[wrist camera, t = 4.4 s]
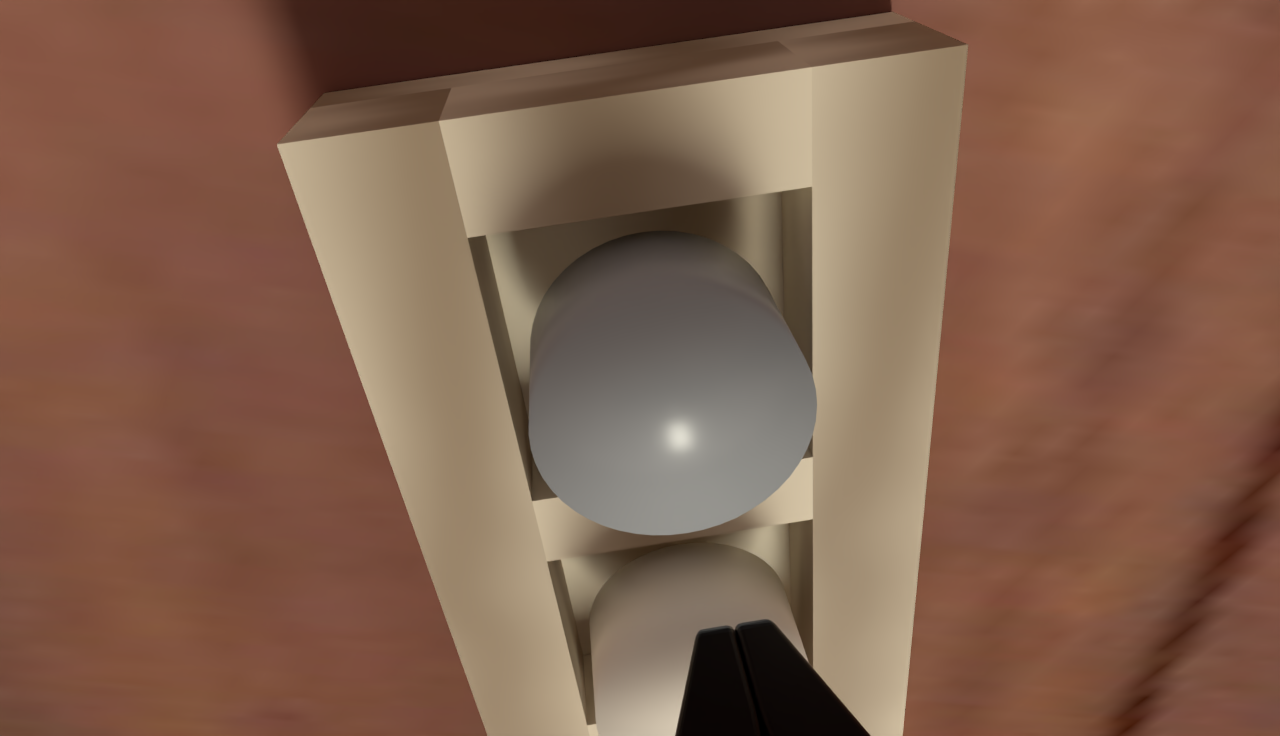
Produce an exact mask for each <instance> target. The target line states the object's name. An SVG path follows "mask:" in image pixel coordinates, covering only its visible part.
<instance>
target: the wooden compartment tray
mask: <svg viewBox="0 0 1280 736" xmlns="http://www.w3.org/2000/svg"><path fill="white" fill-rule="evenodd" d="M967 52H968V44H966V43H963V42H961V41H959V40H956V39H954V38H952V37H950V36H947V35H945V34H943V33H940V32H938V31H936V30H933V29H931V28H929V27H927V26H924V25H922V24H920V23H917V22H915V21H913V20H910V19H908V18H906V17H904V16H901V15H899V14H897V13H894V12H888V13H881V14H874V15H867V16H860V17H853V18H846V19H839V20H832V21H825V22H818V23H811V24H804V25H797V26H790V27H783V28H776V29H769V30H762V31H755V32H748V33H741V34H734V35H727V36H720V37H713V38H706V39H699V40H692V41H685V42H678V43H671V44H664V45H657V46H650V47H643V48H636V49H629V50H622V51H615V52H608V53H601V54H594V55H587V56H580V57H573V58H566V59H559V60H552V61H545V62H538V63H531V64H524V65H517V66H510V67H503V68H496V69H489V70H482V71H475V72H468V73H461V74H454V75H447V76H440V77H433V78H426V79H419V80H412V81H405V82H398V83H391V84H384V85H377V86H370V87H363V88H356V89H349V90H342V91H335V92H328V93H324V94H323V95H322V96H321V97H320V98H319V99H318V100H317V101H316V102H315V103H314V105H313V106H312V107H311V108H310V109H309V110H308V111H307V112H306V113H305V114H304V115H303V117H302V118H301V119H300V120H299V121H298V122H297V123H296V124H295V125H294V126H293V127H292V128H291V130H290V131H289V132H288V133H287V134H286V135H285V136H284V137H283V138H282V139H281V140H280V142H279V143H278V144H277V146H278V149H279V152H280V155H281V157H282V160H283V163H284V166H285V169H286V171H287V174H288V177H289V180H290V183H291V185H292V188H293V191H294V194H295V197H296V199H297V202H298V205H299V208H300V211H301V213H302V216H303V219H304V222H305V225H306V228H307V230H308V233H309V236H310V239H311V242H312V244H313V247H314V250H315V253H316V256H317V258H318V261H319V264H320V267H321V270H322V272H323V275H324V278H325V281H326V284H327V286H328V289H329V292H330V295H331V298H332V300H333V303H334V306H335V309H336V312H337V314H338V317H339V320H340V323H341V326H342V328H343V331H344V334H345V337H346V340H347V343H348V345H349V348H350V351H351V354H352V357H353V359H354V362H355V365H356V368H357V371H358V373H359V376H360V379H361V382H362V385H363V387H364V390H365V393H366V396H367V399H368V401H369V404H370V407H371V410H372V413H373V415H374V418H375V421H376V424H377V427H378V429H379V432H380V435H381V438H382V441H383V444H384V446H385V449H386V452H387V455H388V458H389V460H390V463H391V466H392V469H393V472H394V474H395V477H396V480H397V483H398V486H399V488H400V491H401V494H402V497H403V500H404V502H405V505H406V508H407V511H408V514H409V516H410V519H411V522H412V525H413V528H414V530H415V533H416V536H417V539H418V542H419V544H420V547H421V550H422V553H423V556H424V559H425V561H426V564H427V567H428V570H429V573H430V575H431V578H432V581H433V584H434V587H435V589H436V592H437V595H438V598H439V601H440V603H441V606H442V609H443V612H444V615H445V617H446V620H447V623H448V626H449V629H450V631H451V634H452V637H453V640H454V643H455V645H456V648H457V651H458V654H459V657H460V660H461V662H462V665H463V668H464V671H465V674H466V676H467V679H468V682H469V685H470V688H471V690H472V693H473V696H474V699H475V702H476V704H477V707H478V710H479V713H480V716H481V718H482V721H483V724H484V727H485V730H486V732H487V735H488V736H599V734H598V731H597V726H596V717H595V701H594V686H593V671H592V655H591V640H590V625H589V621H590V612H591V608H592V604H593V602H594V600H595V598H596V596H597V594H598V592H599V591H600V589H601V588H602V586H603V585H604V584H605V583H606V582H607V581H608V579H609V578H610V577H611V576H613V575H614V574H615V573H616V572H617V571H618V570H619V569H621V568H622V567H624V566H625V565H627V564H628V563H630V562H631V561H633V560H635V559H637V558H639V557H641V556H643V555H645V554H648V553H650V552H652V551H655V550H659V549H662V548H665V547H669V546H674V545H679V544H687V543H718V544H724V545H729V546H734V547H737V548H740V549H743V550H746V551H748V552H750V553H752V554H754V555H756V556H758V557H759V558H761V559H762V560H764V561H765V562H766V563H767V564H768V565H770V566H771V567H772V568H773V570H774V571H775V572H776V573H777V575H778V576H779V578H780V580H781V582H782V584H783V587H784V590H785V593H786V596H787V599H788V602H789V605H790V608H791V611H792V614H793V617H794V620H795V623H796V626H797V629H798V632H799V635H800V638H801V641H802V644H803V647H804V650H805V653H806V656H807V659H808V662H809V664H810V665H811V666H812V667H813V668H814V670H815V671H816V672H817V673H818V674H819V675H820V677H821V678H822V679H823V680H824V681H825V683H826V684H827V685H828V686H829V687H830V688H831V690H832V691H833V692H834V693H835V694H836V695H837V697H838V698H839V699H840V700H841V701H842V702H843V704H844V705H845V706H846V707H847V708H848V710H849V711H850V712H851V713H852V714H853V715H854V717H855V718H856V719H857V720H858V721H859V722H860V724H861V725H862V726H863V727H864V728H865V729H866V731H867V732H868V733H869V734H870V735H871V736H903V726H904V715H905V705H906V694H907V684H908V673H909V663H910V652H911V642H912V631H913V620H914V610H915V599H916V589H917V578H918V568H919V557H920V547H921V536H922V526H923V515H924V505H925V494H926V484H927V473H928V463H929V452H930V441H931V431H932V420H933V410H934V399H935V389H936V378H937V368H938V357H939V347H940V336H941V326H942V315H943V305H944V294H945V284H946V273H947V262H948V252H949V241H950V231H951V220H952V210H953V199H954V189H955V178H956V168H957V157H958V147H959V136H960V126H961V115H962V105H963V94H964V84H965V73H966V62H967ZM649 231H678V232H684V233H691V234H695V235H699V236H702V237H705V238H709V239H711V240H713V241H716V242H718V243H720V244H722V245H724V246H726V247H728V248H729V249H731V250H732V251H734V252H736V253H737V254H739V255H740V256H741V257H742V258H743V259H744V260H746V261H747V262H748V263H749V264H750V265H751V266H752V267H753V268H754V269H755V271H756V272H757V273H758V274H759V275H760V277H761V278H762V280H763V281H764V283H765V285H766V286H767V288H768V290H769V291H770V293H771V295H772V297H773V299H774V301H775V303H776V305H777V306H778V308H779V310H780V312H781V314H782V316H783V318H784V320H785V322H786V323H787V325H788V327H789V329H790V331H791V333H792V335H793V337H794V338H795V340H796V342H797V344H798V346H799V348H800V350H801V352H802V354H803V355H804V357H805V359H806V361H807V364H808V366H809V368H810V371H811V373H812V376H813V380H814V384H815V388H816V396H817V414H816V422H815V427H814V431H813V435H812V438H811V440H810V443H809V446H808V448H807V450H806V452H805V454H804V456H803V458H802V459H801V461H800V463H799V465H798V466H797V467H796V469H795V470H794V471H793V473H792V474H791V476H790V477H789V478H788V479H787V480H786V481H785V482H784V483H783V484H782V485H781V487H780V488H779V489H778V490H776V491H775V492H774V493H773V494H772V495H771V496H769V497H768V498H767V499H766V500H765V501H763V502H762V503H760V504H759V505H757V506H756V507H754V508H753V509H751V510H750V511H748V512H746V513H744V514H742V515H740V516H739V517H737V518H735V519H732V520H730V521H727V522H725V523H723V524H720V525H717V526H714V527H711V528H707V529H704V530H700V531H695V532H690V533H684V534H675V535H644V534H634V533H629V532H624V531H619V530H616V529H612V528H609V527H606V526H603V525H601V524H598V523H596V522H594V521H591V520H589V519H587V518H586V517H584V516H582V515H581V514H579V513H577V512H575V511H574V510H573V509H571V508H570V507H569V506H568V505H566V504H565V503H564V502H562V501H561V500H560V498H559V497H558V496H557V495H556V494H555V493H554V492H553V491H552V490H551V489H550V487H549V486H548V485H547V483H546V482H545V481H544V479H543V478H542V476H541V474H540V472H539V470H538V468H537V466H536V464H535V461H534V458H533V455H532V451H531V447H530V440H529V383H530V337H531V331H532V325H533V321H534V318H535V315H536V312H537V309H538V307H539V305H540V303H541V301H542V299H543V297H544V295H545V293H546V292H547V291H548V289H549V288H550V286H551V285H552V283H553V282H554V281H555V280H556V278H557V277H558V276H559V275H560V274H561V273H562V272H563V271H564V270H565V269H566V268H567V267H568V266H569V265H571V264H572V263H573V262H574V261H575V260H576V259H578V258H579V257H581V256H582V255H584V254H585V253H587V252H588V251H590V250H591V249H593V248H595V247H597V246H599V245H602V244H604V243H606V242H608V241H611V240H614V239H616V238H619V237H622V236H626V235H630V234H635V233H640V232H649Z"/></svg>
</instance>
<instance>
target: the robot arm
mask: <svg viewBox="0 0 1280 736" xmlns="http://www.w3.org/2000/svg"><path fill="white" fill-rule="evenodd" d="M675 736H871V735H870V734H869V733H868V732H867V731H866V729H865V728H864V727H863V726H862V725H861V724H860V722H859V721H858V720H857V719H856V718H855V717H854V715H853V714H852V713H851V712H850V711H849V710H848V708H847V707H846V706H845V705H844V704H843V702H842V701H841V700H840V699H839V698H838V697H837V695H836V694H835V693H834V692H833V691H832V690H831V688H830V687H829V686H828V685H827V684H826V683H825V681H824V680H823V679H822V678H821V677H820V675H819V674H818V673H817V672H816V671H815V670H814V668H813V667H812V666H811V665H810V664H809V663H808V661H807V660H806V659H805V658H804V657H803V656H802V654H801V653H800V652H799V651H798V650H797V648H796V647H795V646H794V645H793V644H792V643H791V641H790V640H789V639H788V638H787V637H786V636H785V634H784V633H783V632H782V631H781V630H780V629H779V627H778V626H777V625H776V624H775V623H774V622H773V621H771V620H769V619H762V620H756V621H750V622H743V623H739V624H738V625H737V626H736V627H735V630H734V629H733V628H732V627H731V626H728V625H725V626H719V627H713V628H707V629H702V630H700V631H698V633H697V634H696V637H695V641H694V646H693V651H692V656H691V661H690V665H689V670H688V675H687V680H686V685H685V690H684V695H683V699H682V704H681V709H680V714H679V719H678V724H677V729H676V733H675Z"/></svg>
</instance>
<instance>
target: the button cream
mask: <svg viewBox="0 0 1280 736" xmlns="http://www.w3.org/2000/svg"><path fill="white" fill-rule="evenodd" d="M762 619H769V620H771V621H773V622H774V623H775V624H776V625H777V626H778V627H779V629H780V630H781V631H782V632H783V633H784V634H785V636H786V637H787V638H788V639H789V640H790V641H791V643H792V644H793V645H794V646H795V647H796V648H797V650H798V651H799V652H800V653H801V654H802V656H803V657H804V658H805V659H806V660H807V661H808V659H807V656H806V653H805V650H804V647H803V644H802V641H801V638H800V635H799V632H798V629H797V626H796V623H795V620H794V617H793V614H792V611H791V608H790V605H789V602H788V599H787V596H786V593H785V590H784V587H783V584H782V582H781V580H780V578H779V576H778V575H777V573H776V572H775V571H774V570H773V568H772V567H771V566H770V565H768V564H767V563H766V562H765V561H764V560H762V559H761V558H759V557H758V556H756V555H754V554H752V553H750V552H748V551H746V550H743V549H740V548H737V547H734V546H729V545H724V544H718V543H687V544H679V545H674V546H669V547H665V548H662V549H659V550H655V551H652V552H650V553H648V554H645V555H643V556H641V557H639V558H637V559H635V560H633V561H631V562H630V563H628V564H627V565H625V566H624V567H622V568H621V569H619V570H618V571H617V572H616V573H615V574H614V575H613V576H611V577H610V578H609V579H608V581H607V582H606V583H605V584H604V585H603V586H602V588H601V589H600V591H599V592H598V594H597V596H596V598H595V600H594V602H593V604H592V608H591V612H590V621H589V625H590V640H591V655H592V671H593V686H594V701H595V717H596V726H597V731H598V734H599V736H675V733H676V729H677V724H678V719H679V714H680V709H681V704H682V699H683V695H684V690H685V685H686V680H687V675H688V670H689V665H690V661H691V656H692V651H693V646H694V641H695V637H696V634H697V633H698V631H700V630H702V629H707V628H713V627H719V626H725V625H728V626H731V627H732V628H733V629H734V630H735V627H736V626H737V625H738V624H739V623H743V622H750V621H756V620H762ZM808 663H809V662H808Z"/></svg>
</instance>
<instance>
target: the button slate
mask: <svg viewBox="0 0 1280 736" xmlns="http://www.w3.org/2000/svg"><path fill="white" fill-rule="evenodd" d="M816 414H817V396H816V388H815V384H814V380H813V376H812V373H811V371H810V368H809V366H808V364H807V361H806V359H805V357H804V355H803V354H802V352H801V350H800V348H799V346H798V344H797V342H796V340H795V338H794V337H793V335H792V333H791V331H790V329H789V327H788V325H787V323H786V322H785V320H784V318H783V316H782V314H781V312H780V310H779V308H778V306H777V305H776V303H775V301H774V299H773V297H772V295H771V293H770V291H769V290H768V288H767V286H766V285H765V283H764V281H763V280H762V278H761V277H760V275H759V274H758V273H757V272H756V271H755V269H754V268H753V267H752V266H751V265H750V264H749V263H748V262H747V261H746V260H744V259H743V258H742V257H741V256H740V255H739V254H737V253H736V252H734V251H732V250H731V249H729V248H728V247H726V246H724V245H722V244H720V243H718V242H716V241H713V240H711V239H709V238H705V237H702V236H699V235H695V234H691V233H684V232H678V231H649V232H640V233H635V234H630V235H626V236H622V237H619V238H616V239H614V240H611V241H608V242H606V243H604V244H602V245H599V246H597V247H595V248H593V249H591V250H590V251H588V252H587V253H585V254H584V255H582V256H581V257H579V258H578V259H576V260H575V261H574V262H573V263H572V264H571V265H569V266H568V267H567V268H566V269H565V270H564V271H563V272H562V273H561V274H560V275H559V276H558V277H557V278H556V280H555V281H554V282H553V283H552V285H551V286H550V288H549V289H548V291H547V292H546V293H545V295H544V297H543V299H542V301H541V303H540V305H539V307H538V309H537V312H536V315H535V318H534V321H533V325H532V331H531V337H530V383H529V440H530V447H531V451H532V455H533V458H534V461H535V464H536V466H537V468H538V470H539V472H540V474H541V476H542V478H543V479H544V481H545V482H546V483H547V485H548V486H549V487H550V489H551V490H552V491H553V492H554V493H555V494H556V495H557V496H558V497H559V498H560V500H561V501H562V502H564V503H565V504H566V505H568V506H569V507H570V508H571V509H573V510H574V511H575V512H577V513H579V514H581V515H582V516H584V517H586V518H587V519H589V520H591V521H594V522H596V523H598V524H601V525H603V526H606V527H609V528H612V529H616V530H619V531H624V532H629V533H634V534H644V535H675V534H684V533H690V532H695V531H700V530H704V529H707V528H711V527H714V526H717V525H720V524H723V523H725V522H727V521H730V520H732V519H735V518H737V517H739V516H740V515H742V514H744V513H746V512H748V511H750V510H751V509H753V508H754V507H756V506H757V505H759V504H760V503H762V502H763V501H765V500H766V499H767V498H768V497H769V496H771V495H772V494H773V493H774V492H775V491H776V490H778V489H779V488H780V487H781V485H782V484H783V483H784V482H785V481H786V480H787V479H788V478H789V477H790V476H791V474H792V473H793V471H794V470H795V469H796V467H797V466H798V465H799V463H800V461H801V459H802V458H803V456H804V454H805V452H806V450H807V448H808V446H809V443H810V440H811V438H812V435H813V431H814V427H815V422H816Z"/></svg>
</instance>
